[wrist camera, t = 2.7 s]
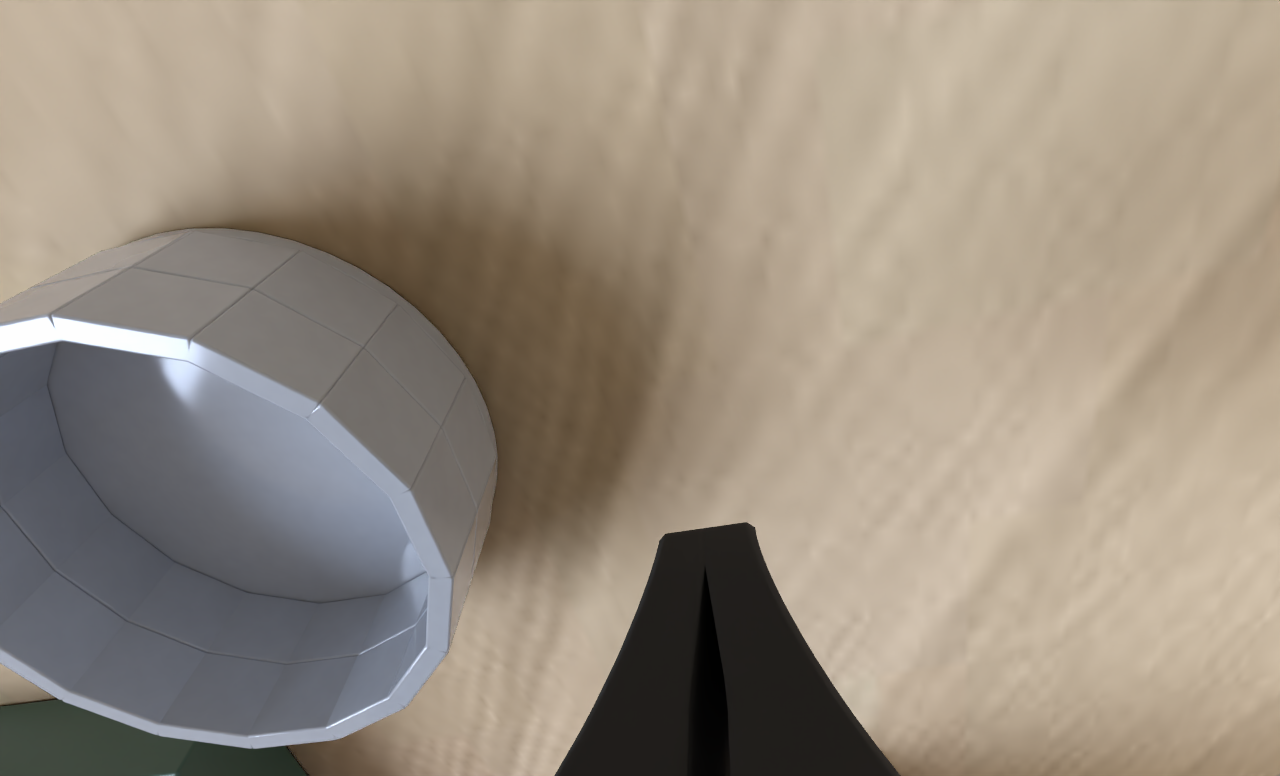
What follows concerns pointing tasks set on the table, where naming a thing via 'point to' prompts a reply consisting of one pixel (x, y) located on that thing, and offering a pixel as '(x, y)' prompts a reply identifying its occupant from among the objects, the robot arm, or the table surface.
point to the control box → (118, 748)
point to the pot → (234, 489)
